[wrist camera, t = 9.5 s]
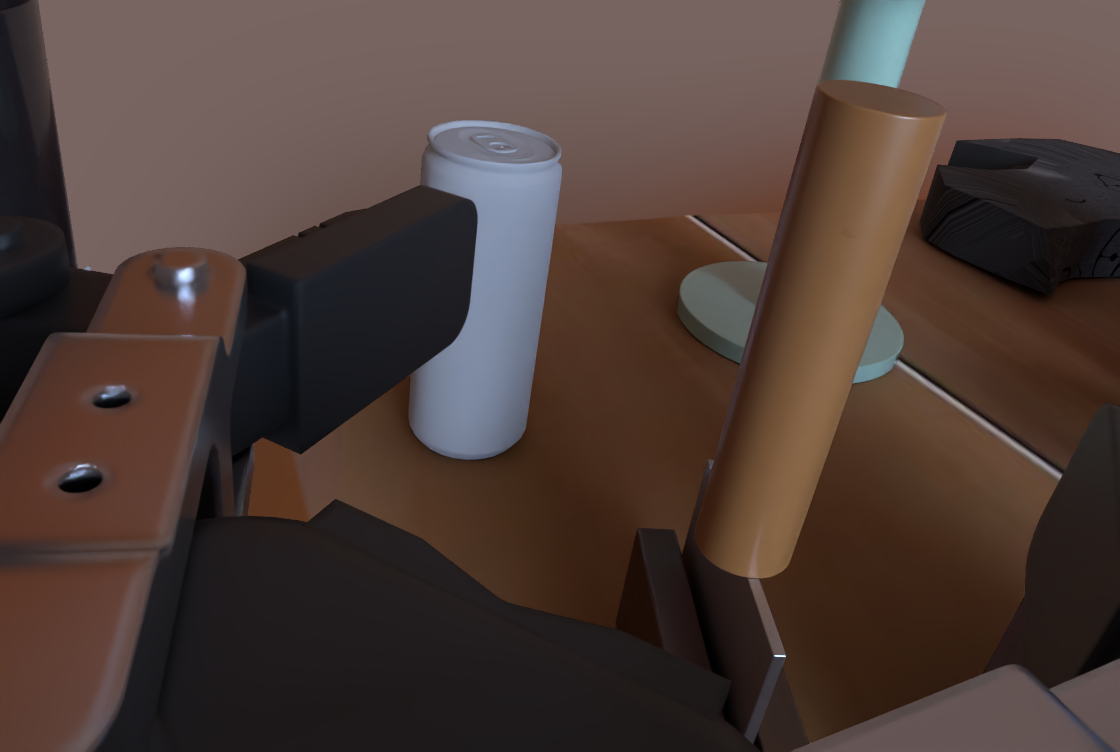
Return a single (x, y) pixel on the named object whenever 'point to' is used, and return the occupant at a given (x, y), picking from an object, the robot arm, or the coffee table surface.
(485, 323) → the beverage can
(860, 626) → the coffee table surface
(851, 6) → the cake stand
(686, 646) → the cutter stand
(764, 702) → the cake cutter
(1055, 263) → the mask
